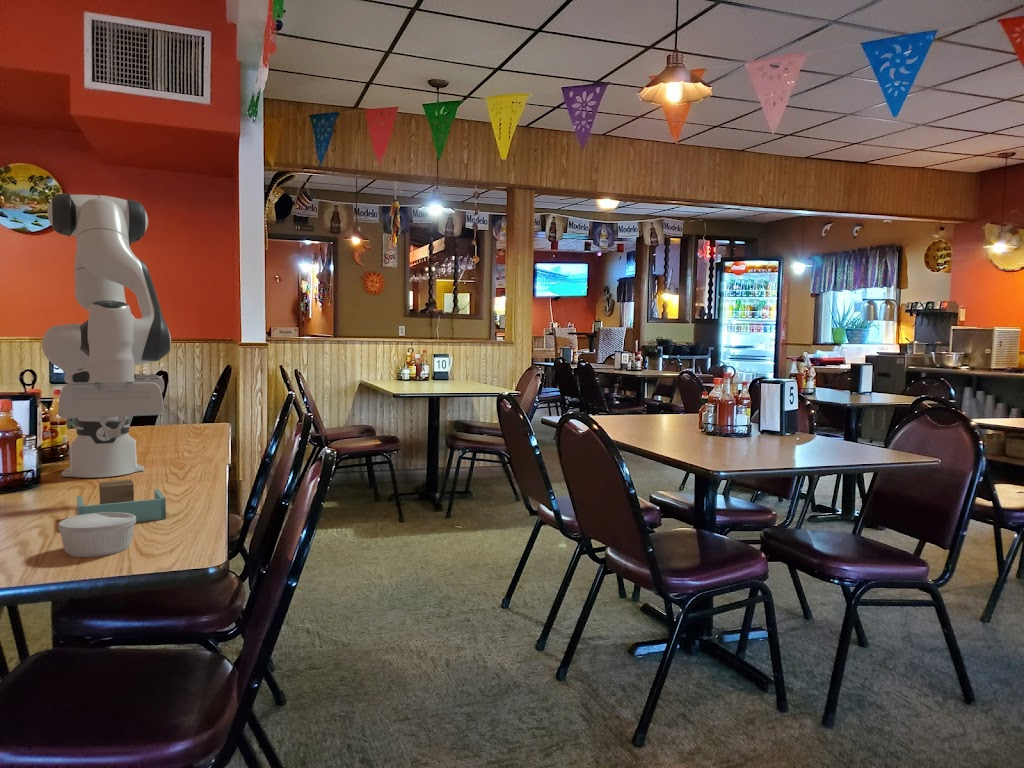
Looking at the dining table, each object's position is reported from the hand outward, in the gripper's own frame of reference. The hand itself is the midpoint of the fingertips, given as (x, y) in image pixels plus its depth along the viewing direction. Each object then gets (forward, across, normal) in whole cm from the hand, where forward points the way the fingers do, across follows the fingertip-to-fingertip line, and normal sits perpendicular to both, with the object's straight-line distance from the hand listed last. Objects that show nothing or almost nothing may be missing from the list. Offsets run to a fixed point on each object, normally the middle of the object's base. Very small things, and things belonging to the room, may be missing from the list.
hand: (113, 437), depth 156 cm
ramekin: (+15, +5, +41) cm, 44 cm away
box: (+14, 0, +19) cm, 24 cm away
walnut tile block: (+14, 0, +7) cm, 16 cm away
